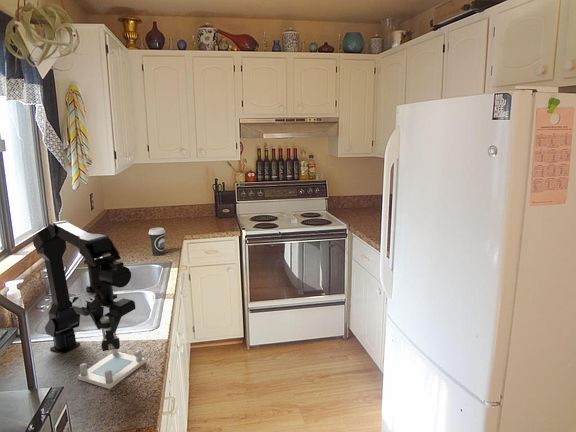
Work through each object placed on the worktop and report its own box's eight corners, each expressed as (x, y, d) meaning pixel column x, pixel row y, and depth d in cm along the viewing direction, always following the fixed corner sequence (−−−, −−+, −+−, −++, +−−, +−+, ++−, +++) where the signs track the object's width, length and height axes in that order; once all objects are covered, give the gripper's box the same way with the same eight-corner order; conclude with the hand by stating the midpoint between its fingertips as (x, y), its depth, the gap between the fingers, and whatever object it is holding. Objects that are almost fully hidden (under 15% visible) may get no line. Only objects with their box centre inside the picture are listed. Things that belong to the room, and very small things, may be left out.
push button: (95, 355, 113) (90, 323, 111) (97, 347, 118) (93, 315, 116) (120, 350, 115) (116, 318, 113) (121, 342, 120) (117, 311, 118)
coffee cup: (167, 251, 236) (165, 226, 233) (167, 255, 227) (165, 230, 224) (150, 252, 233) (148, 228, 230) (149, 257, 224) (147, 231, 221)
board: (78, 379, 114) (76, 366, 113) (115, 354, 127) (114, 342, 126) (109, 389, 110) (108, 375, 109) (145, 362, 122) (144, 350, 121)
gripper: (51, 285, 108) (59, 337, 112) (101, 295, 101) (108, 350, 104) (86, 272, 118) (92, 320, 122) (134, 280, 111) (139, 331, 114)
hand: (106, 330), depth 115 cm, fingers closed on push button, 5 cm apart
